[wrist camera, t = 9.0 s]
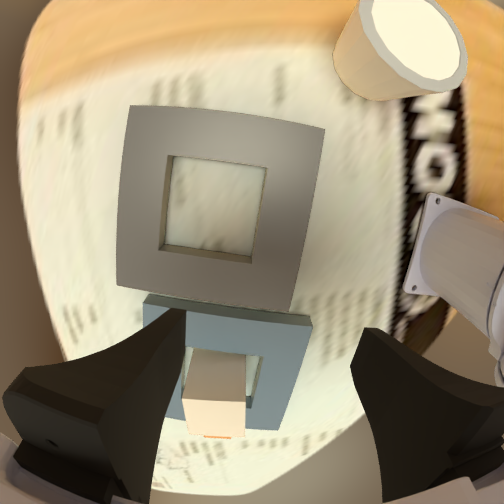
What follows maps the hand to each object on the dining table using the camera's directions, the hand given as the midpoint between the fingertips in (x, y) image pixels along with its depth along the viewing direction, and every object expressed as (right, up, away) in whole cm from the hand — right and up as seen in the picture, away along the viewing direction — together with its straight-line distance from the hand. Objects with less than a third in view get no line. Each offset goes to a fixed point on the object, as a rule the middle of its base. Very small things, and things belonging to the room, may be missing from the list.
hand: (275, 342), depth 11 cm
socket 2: (-3, -6, +12) cm, 14 cm away
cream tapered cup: (+7, +17, +5) cm, 19 cm away
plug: (-3, -6, +12) cm, 13 cm away
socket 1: (-3, +6, +8) cm, 11 cm away
